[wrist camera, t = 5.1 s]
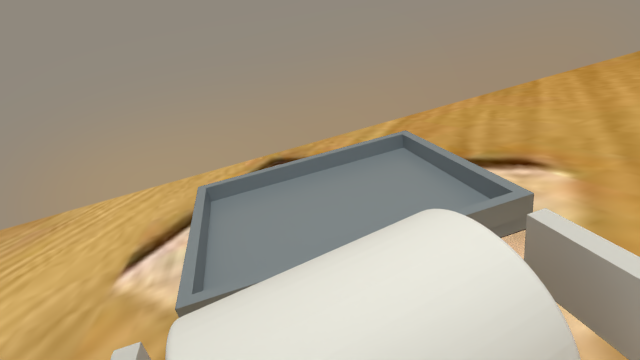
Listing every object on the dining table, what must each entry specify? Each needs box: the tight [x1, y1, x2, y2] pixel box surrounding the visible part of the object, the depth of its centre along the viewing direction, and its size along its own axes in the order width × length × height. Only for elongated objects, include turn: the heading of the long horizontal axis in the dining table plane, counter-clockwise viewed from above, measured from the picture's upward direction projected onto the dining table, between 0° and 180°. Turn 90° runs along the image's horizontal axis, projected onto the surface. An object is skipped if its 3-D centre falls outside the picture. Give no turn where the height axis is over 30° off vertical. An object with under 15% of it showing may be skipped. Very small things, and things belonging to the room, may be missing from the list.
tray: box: [175, 131, 534, 318], centre depth 28 cm, size 22×17×2 cm
